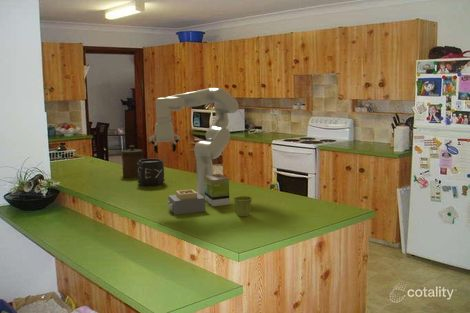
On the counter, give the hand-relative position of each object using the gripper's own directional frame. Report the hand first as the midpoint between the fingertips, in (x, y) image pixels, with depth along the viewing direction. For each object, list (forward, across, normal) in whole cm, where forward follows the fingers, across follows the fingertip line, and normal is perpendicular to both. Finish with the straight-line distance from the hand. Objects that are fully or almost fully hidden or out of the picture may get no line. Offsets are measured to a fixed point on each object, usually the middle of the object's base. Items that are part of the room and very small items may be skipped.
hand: (165, 152), depth 274 cm
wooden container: (+29, +5, -90) cm, 95 cm away
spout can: (+28, -6, +20) cm, 35 cm away
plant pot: (+28, -29, +42) cm, 58 cm away
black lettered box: (+29, -1, -54) cm, 61 cm away
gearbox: (+28, -6, +20) cm, 35 cm away
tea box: (+29, -25, +12) cm, 40 cm away
